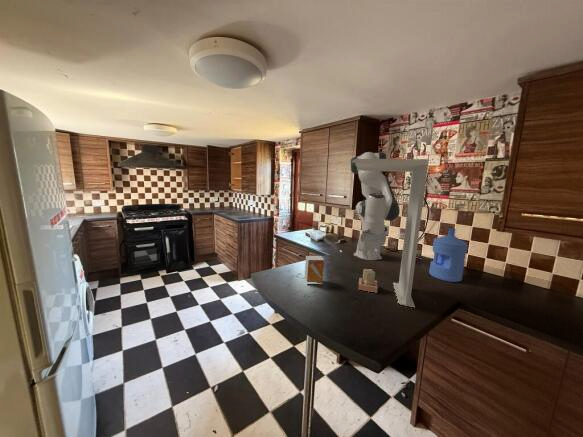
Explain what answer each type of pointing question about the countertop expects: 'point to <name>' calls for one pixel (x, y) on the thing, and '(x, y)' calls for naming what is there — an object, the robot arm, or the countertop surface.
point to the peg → (368, 277)
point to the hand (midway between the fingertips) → (370, 257)
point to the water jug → (448, 257)
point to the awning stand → (413, 216)
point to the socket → (367, 286)
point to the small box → (314, 269)
